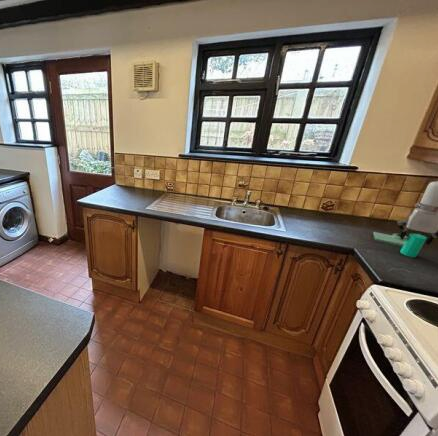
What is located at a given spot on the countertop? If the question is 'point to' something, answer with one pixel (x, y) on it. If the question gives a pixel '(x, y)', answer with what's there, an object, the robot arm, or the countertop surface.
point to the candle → (413, 245)
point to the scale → (390, 239)
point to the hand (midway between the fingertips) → (414, 240)
